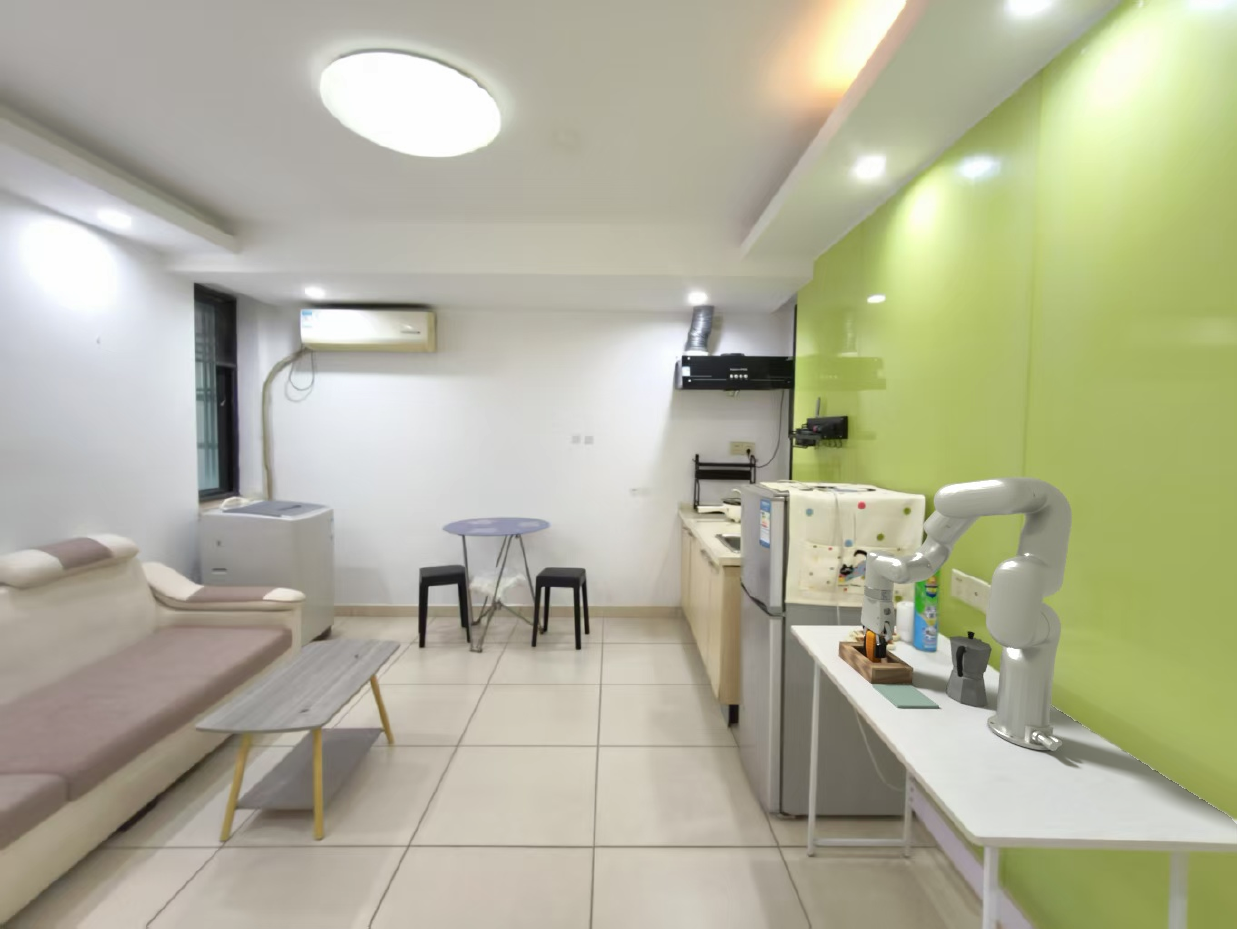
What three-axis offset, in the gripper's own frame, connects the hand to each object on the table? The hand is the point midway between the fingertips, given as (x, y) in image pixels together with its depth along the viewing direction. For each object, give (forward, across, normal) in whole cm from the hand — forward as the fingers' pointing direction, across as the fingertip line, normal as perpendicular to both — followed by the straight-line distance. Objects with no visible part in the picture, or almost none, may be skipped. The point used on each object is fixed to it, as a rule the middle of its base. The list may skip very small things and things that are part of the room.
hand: (874, 652), depth 148 cm
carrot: (+5, 0, 0) cm, 5 cm away
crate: (+5, 0, 0) cm, 5 cm away
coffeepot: (+5, -17, -15) cm, 23 cm away
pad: (+5, -16, +1) cm, 17 cm away
